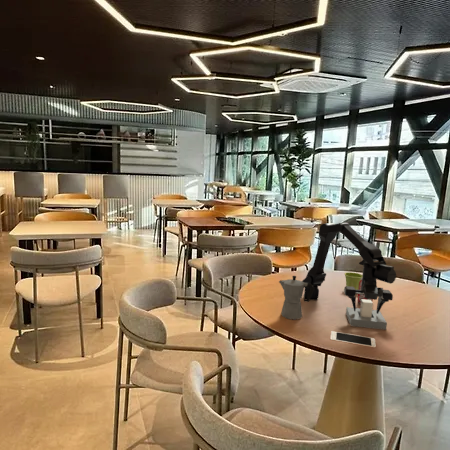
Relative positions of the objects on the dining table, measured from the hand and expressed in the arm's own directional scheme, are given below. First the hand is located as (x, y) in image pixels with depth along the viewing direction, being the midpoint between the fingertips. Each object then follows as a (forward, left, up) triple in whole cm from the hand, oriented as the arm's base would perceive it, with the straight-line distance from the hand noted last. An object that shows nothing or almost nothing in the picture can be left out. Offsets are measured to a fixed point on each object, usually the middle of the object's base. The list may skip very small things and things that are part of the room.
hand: (365, 312), depth 159 cm
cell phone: (-8, -20, -5) cm, 22 cm away
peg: (0, 0, -4) cm, 4 cm away
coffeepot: (-30, -3, -4) cm, 30 cm away
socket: (0, 0, -4) cm, 4 cm away
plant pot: (+1, +44, -4) cm, 44 cm away
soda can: (+4, +24, -4) cm, 25 cm away
